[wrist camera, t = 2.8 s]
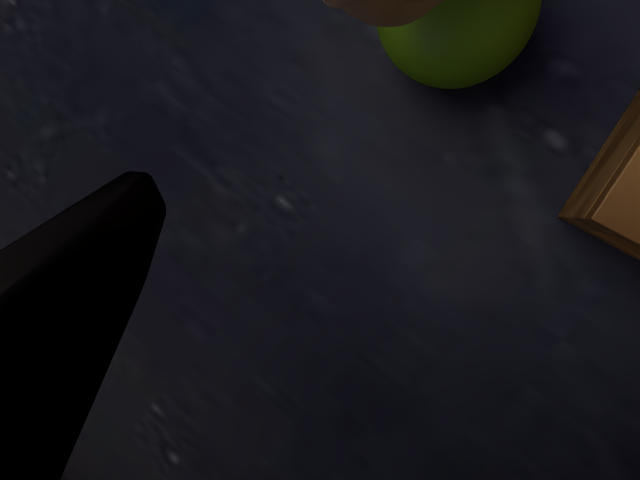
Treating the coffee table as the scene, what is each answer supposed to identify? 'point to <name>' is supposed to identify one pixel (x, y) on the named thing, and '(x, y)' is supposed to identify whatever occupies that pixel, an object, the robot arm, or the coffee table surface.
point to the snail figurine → (448, 35)
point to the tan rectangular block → (612, 188)
